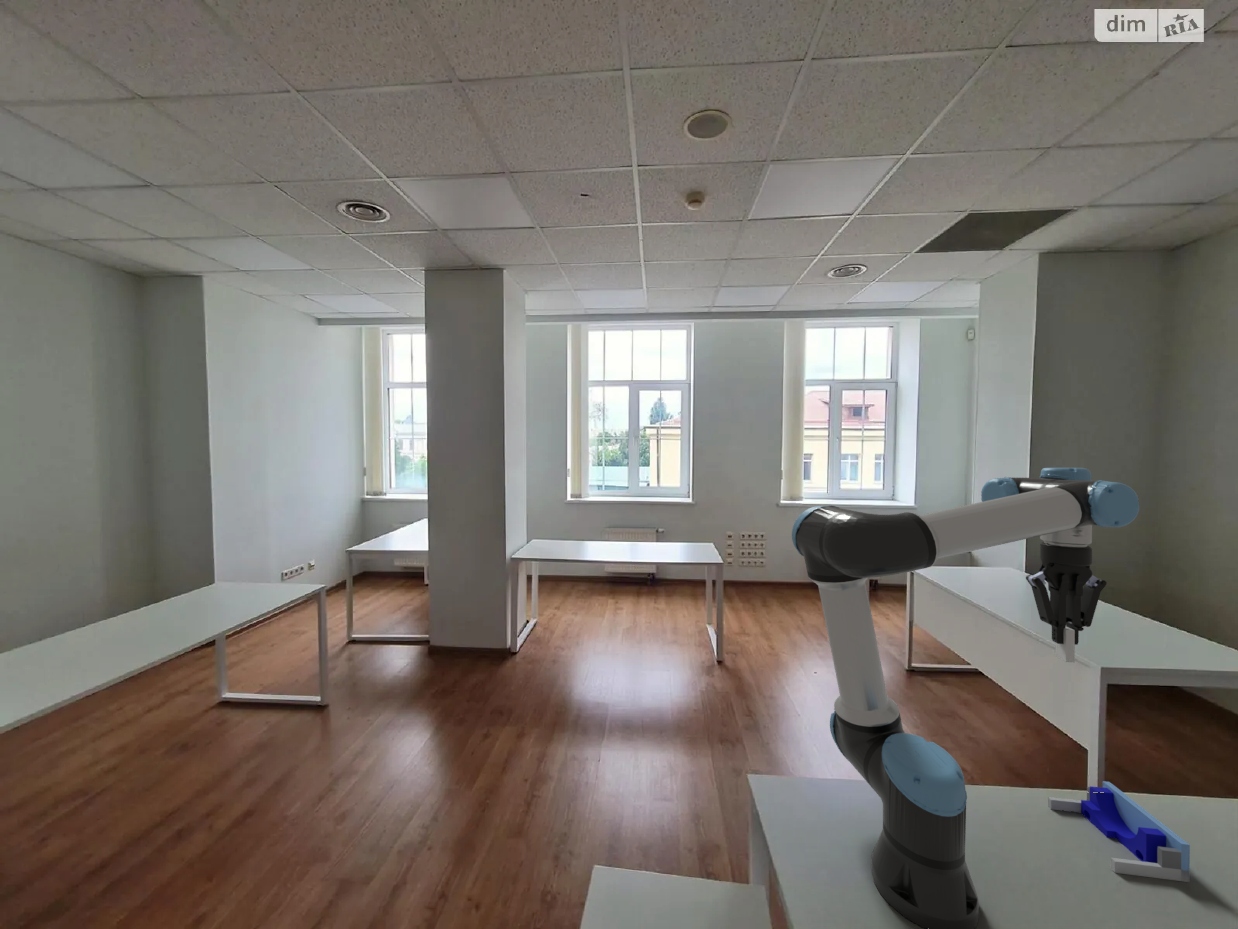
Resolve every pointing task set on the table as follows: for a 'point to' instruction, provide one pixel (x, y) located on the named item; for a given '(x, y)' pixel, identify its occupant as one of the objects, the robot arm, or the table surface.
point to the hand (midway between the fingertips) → (1064, 659)
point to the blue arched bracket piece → (1121, 826)
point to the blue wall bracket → (1169, 859)
